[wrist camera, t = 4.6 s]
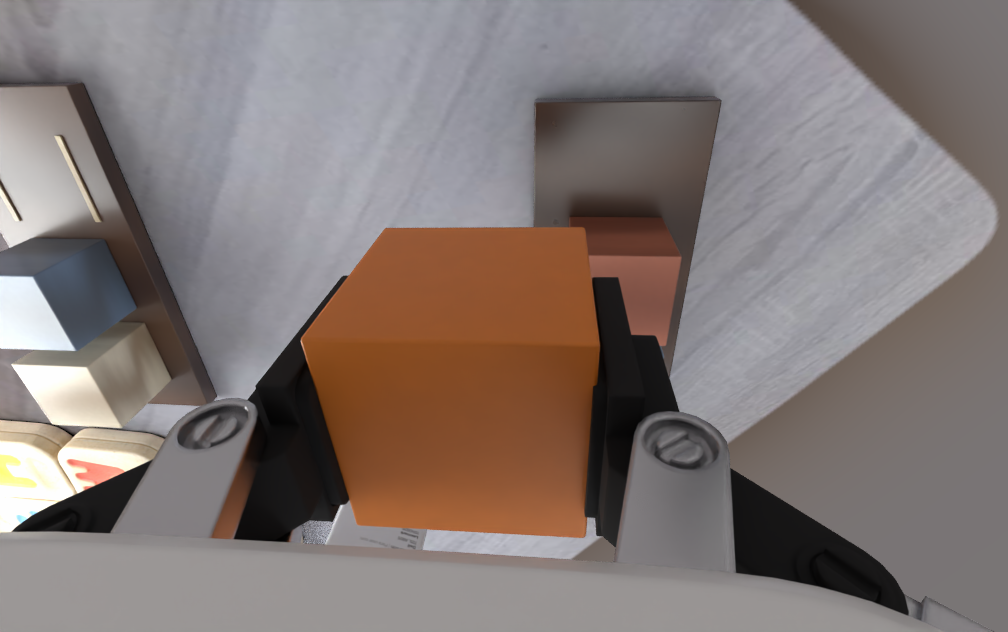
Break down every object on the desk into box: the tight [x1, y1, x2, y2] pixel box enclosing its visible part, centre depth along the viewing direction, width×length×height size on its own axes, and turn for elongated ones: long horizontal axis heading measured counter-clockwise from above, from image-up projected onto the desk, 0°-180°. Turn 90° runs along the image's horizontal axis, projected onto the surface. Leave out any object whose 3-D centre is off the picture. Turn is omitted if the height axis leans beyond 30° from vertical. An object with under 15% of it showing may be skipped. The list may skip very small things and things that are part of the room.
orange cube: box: [301, 227, 600, 538], centre depth 10 cm, size 4×4×4 cm
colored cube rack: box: [534, 97, 721, 376], centre depth 26 cm, size 20×8×6 cm, turn 2°
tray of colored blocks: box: [0, 83, 217, 428], centre depth 28 cm, size 20×8×6 cm, turn 1°
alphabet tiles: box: [0, 420, 303, 543], centre depth 46 cm, size 33×33×2 cm
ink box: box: [325, 501, 427, 550], centre depth 31 cm, size 8×5×12 cm, turn 160°
